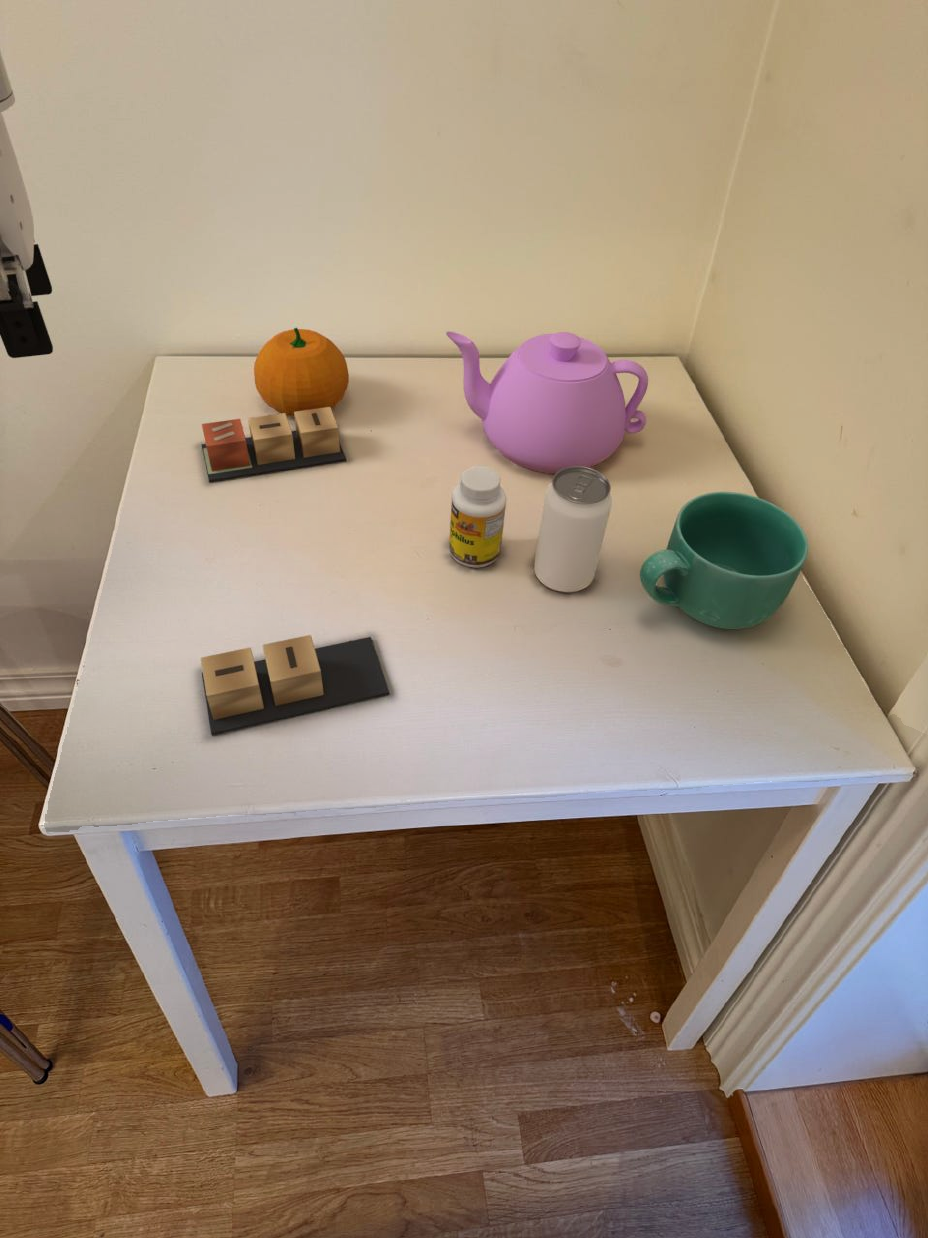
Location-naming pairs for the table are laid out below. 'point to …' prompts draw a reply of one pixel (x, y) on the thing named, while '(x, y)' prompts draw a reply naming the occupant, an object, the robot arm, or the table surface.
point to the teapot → (553, 401)
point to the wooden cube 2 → (293, 670)
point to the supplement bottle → (477, 517)
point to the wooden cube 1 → (231, 683)
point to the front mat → (344, 680)
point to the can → (572, 528)
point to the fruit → (300, 372)
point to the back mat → (270, 467)
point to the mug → (728, 560)
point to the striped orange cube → (226, 444)
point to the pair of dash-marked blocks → (277, 440)
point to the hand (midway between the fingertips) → (32, 322)
